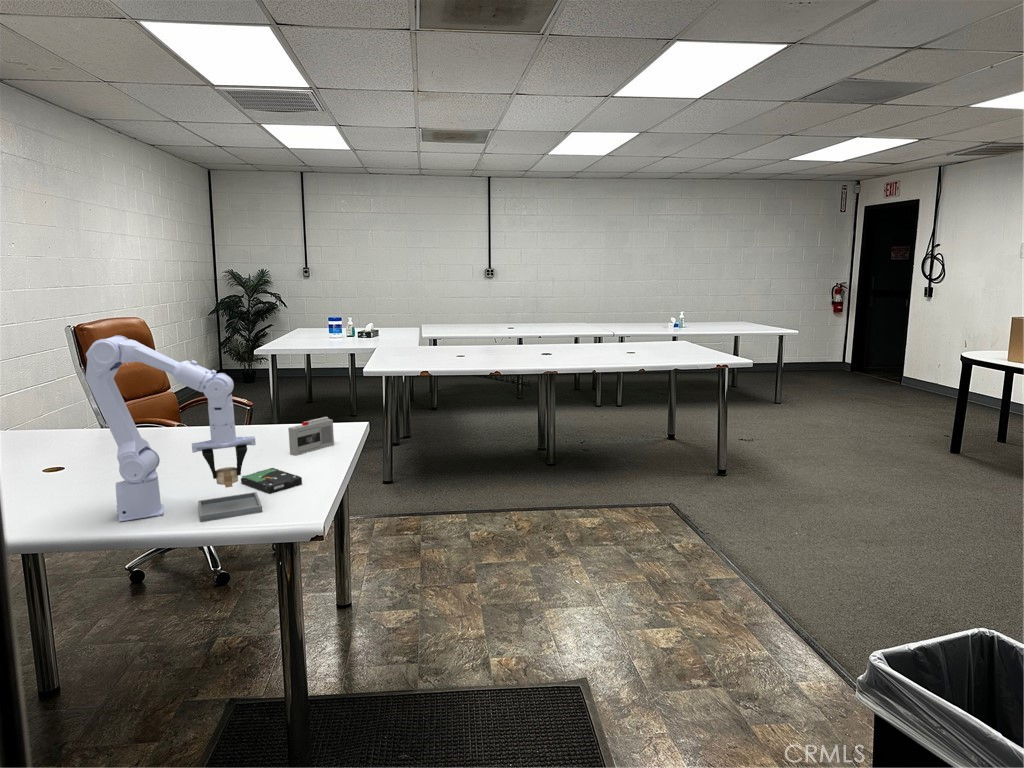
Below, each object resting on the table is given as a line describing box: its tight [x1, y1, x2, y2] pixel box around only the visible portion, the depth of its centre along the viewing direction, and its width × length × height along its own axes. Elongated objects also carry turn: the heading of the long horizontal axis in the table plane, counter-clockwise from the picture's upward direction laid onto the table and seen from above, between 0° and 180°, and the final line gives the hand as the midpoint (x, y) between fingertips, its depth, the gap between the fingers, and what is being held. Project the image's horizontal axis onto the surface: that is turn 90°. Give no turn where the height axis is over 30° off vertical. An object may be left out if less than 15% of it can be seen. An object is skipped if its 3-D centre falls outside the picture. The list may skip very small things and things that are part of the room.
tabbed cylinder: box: [215, 466, 239, 489], centre depth 167 cm, size 8×5×3 cm, turn 27°
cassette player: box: [288, 416, 335, 457], centre depth 222 cm, size 16×3×10 cm, turn 144°
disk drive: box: [240, 467, 303, 495], centre depth 188 cm, size 10×3×15 cm
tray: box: [197, 491, 263, 523], centre depth 169 cm, size 14×12×2 cm
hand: (226, 476), depth 169 cm, fingers closed on tabbed cylinder, 5 cm apart
